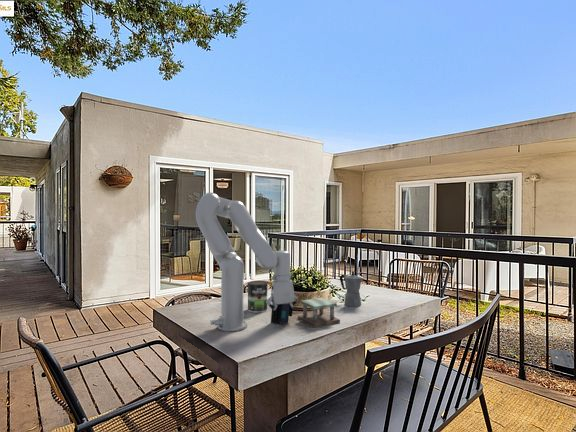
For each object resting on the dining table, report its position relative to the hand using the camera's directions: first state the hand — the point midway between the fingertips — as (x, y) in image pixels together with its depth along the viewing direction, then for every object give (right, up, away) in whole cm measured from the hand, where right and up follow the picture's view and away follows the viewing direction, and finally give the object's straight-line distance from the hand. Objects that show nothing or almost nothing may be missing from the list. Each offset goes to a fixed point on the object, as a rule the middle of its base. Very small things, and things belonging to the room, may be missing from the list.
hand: (282, 316), depth 156 cm
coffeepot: (+37, -3, +32) cm, 49 cm away
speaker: (-1, -3, 0) cm, 3 cm away
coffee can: (-13, -3, +20) cm, 24 cm away
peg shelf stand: (+17, -2, +2) cm, 17 cm away
